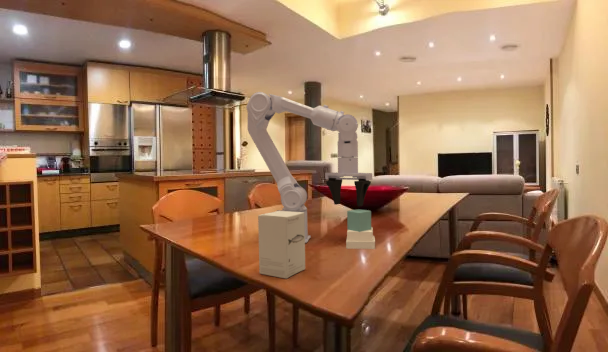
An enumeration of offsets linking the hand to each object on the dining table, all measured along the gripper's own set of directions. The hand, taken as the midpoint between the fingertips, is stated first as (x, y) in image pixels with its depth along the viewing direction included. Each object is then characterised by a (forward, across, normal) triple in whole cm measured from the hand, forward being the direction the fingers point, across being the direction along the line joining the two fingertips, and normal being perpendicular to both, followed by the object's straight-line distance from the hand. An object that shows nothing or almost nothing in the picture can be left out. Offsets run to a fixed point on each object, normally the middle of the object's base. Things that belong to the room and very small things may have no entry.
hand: (348, 205), depth 107 cm
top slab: (+8, +6, -3) cm, 10 cm away
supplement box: (+11, +4, -33) cm, 34 cm away
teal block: (+6, +5, -3) cm, 9 cm away
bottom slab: (+11, +6, -3) cm, 13 cm away
